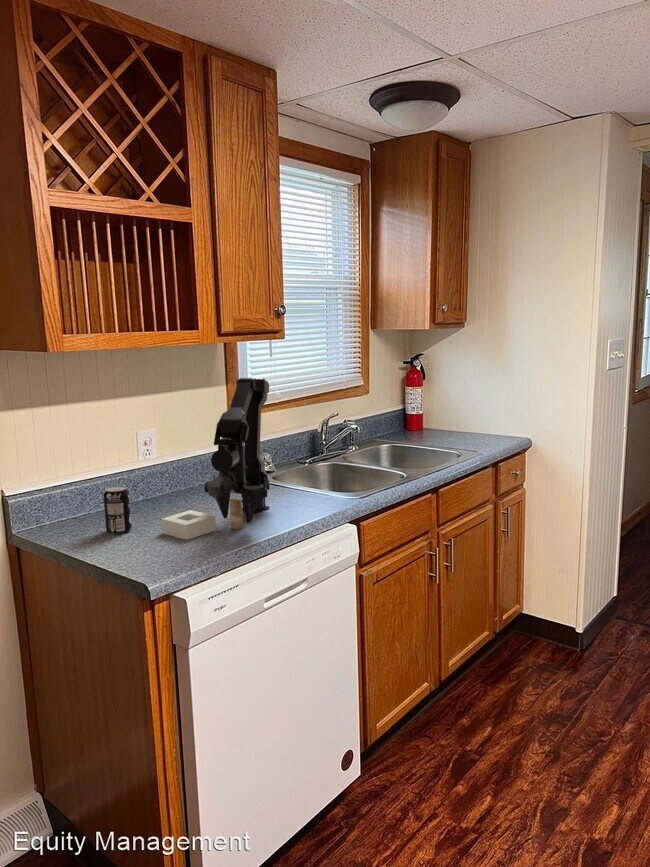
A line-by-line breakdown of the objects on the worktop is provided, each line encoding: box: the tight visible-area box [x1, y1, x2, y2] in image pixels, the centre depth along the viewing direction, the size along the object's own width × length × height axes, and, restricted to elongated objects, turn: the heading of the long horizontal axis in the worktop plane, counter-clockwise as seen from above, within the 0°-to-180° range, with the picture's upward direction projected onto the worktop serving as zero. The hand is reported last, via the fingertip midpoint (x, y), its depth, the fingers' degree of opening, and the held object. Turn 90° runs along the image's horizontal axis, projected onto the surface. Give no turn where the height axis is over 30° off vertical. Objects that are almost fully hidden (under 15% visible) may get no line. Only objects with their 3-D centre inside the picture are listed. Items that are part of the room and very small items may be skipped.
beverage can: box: [103, 485, 132, 535], centre depth 180 cm, size 7×7×12 cm
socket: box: [161, 509, 217, 541], centre depth 179 cm, size 10×10×4 cm
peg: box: [229, 497, 244, 531], centre depth 180 cm, size 3×3×8 cm
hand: (236, 520), depth 181 cm, fingers open, 9 cm apart
